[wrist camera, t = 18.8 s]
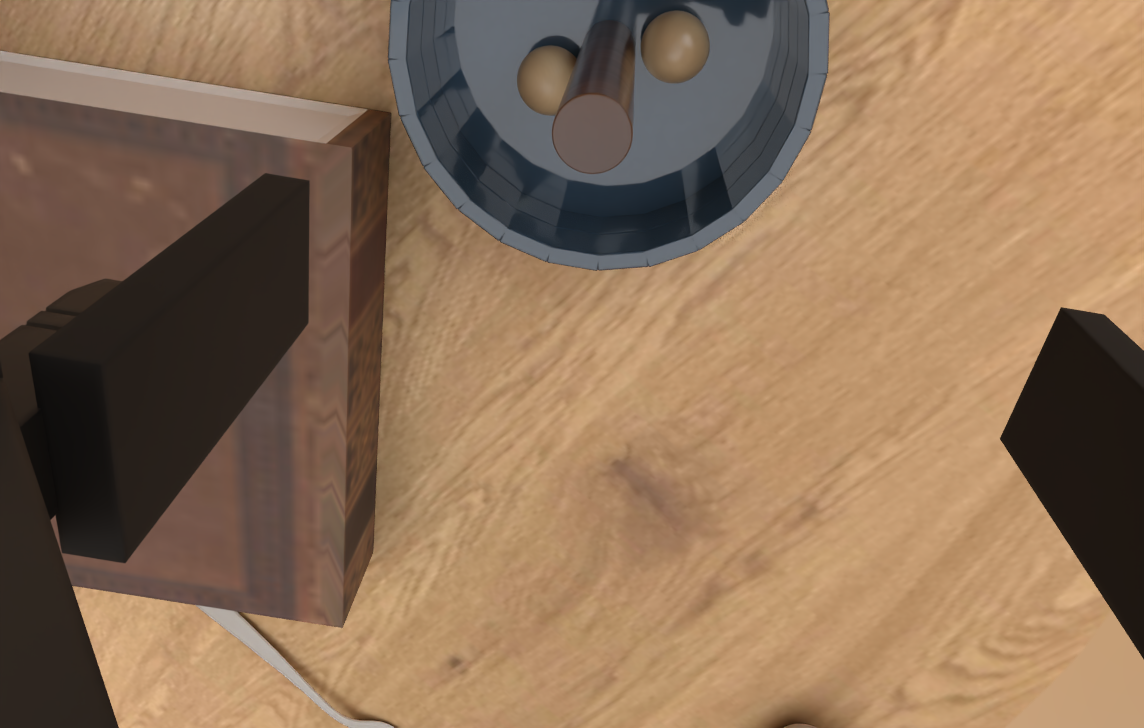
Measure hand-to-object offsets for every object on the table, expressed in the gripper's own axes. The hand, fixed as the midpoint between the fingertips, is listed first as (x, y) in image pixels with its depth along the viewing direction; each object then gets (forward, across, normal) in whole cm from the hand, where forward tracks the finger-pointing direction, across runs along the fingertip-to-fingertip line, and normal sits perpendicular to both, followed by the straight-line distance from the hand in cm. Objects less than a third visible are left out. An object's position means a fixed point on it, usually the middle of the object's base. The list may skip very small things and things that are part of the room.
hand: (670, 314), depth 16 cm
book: (+29, -24, -19) cm, 42 cm away
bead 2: (+26, +1, +1) cm, 26 cm away
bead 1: (+26, -4, -2) cm, 27 cm away
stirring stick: (+28, -2, 0) cm, 28 cm away
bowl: (+29, -2, 0) cm, 29 cm away
